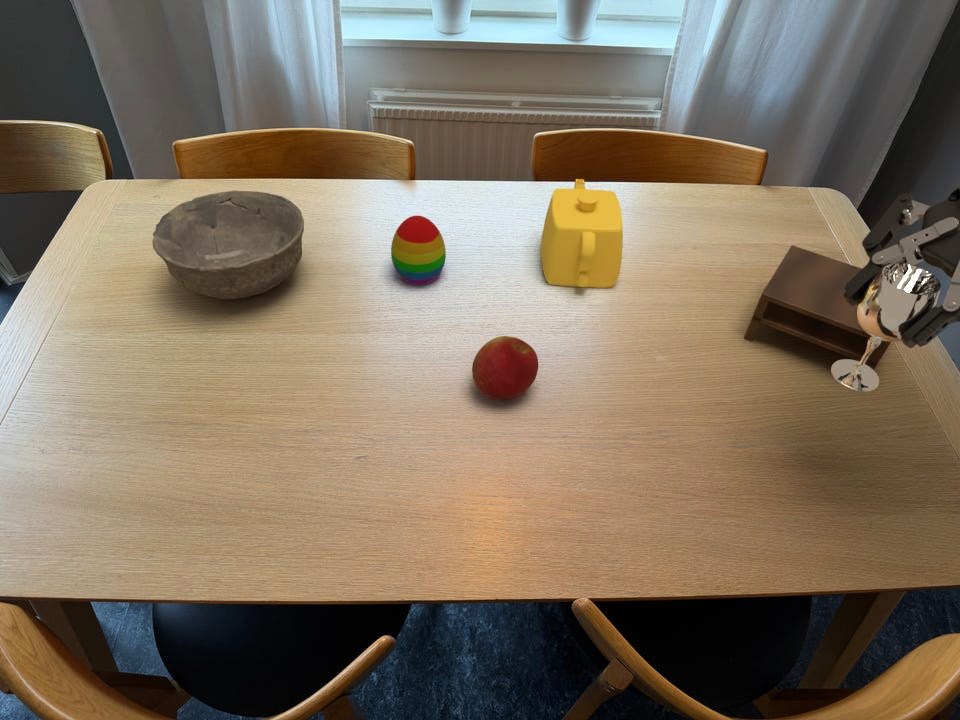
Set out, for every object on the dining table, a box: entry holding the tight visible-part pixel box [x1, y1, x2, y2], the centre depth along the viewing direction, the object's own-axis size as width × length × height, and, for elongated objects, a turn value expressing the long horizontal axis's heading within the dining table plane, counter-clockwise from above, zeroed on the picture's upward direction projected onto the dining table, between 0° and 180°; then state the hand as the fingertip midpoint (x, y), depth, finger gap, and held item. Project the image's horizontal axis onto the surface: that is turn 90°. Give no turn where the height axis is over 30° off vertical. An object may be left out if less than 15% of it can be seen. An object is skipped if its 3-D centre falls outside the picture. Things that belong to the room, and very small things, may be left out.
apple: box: [471, 335, 539, 401], centre depth 82 cm, size 8×8×8 cm
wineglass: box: [830, 263, 942, 393], centre depth 61 cm, size 6×6×12 cm
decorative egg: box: [390, 215, 447, 285], centre depth 98 cm, size 8×8×10 cm
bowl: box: [151, 190, 305, 300], centre depth 96 cm, size 21×21×10 cm
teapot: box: [540, 178, 624, 289], centre depth 101 cm, size 20×12×12 cm, turn 177°
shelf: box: [743, 244, 892, 371], centre depth 91 cm, size 16×14×8 cm
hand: (876, 321), depth 60 cm, fingers closed on wineglass, 5 cm apart
